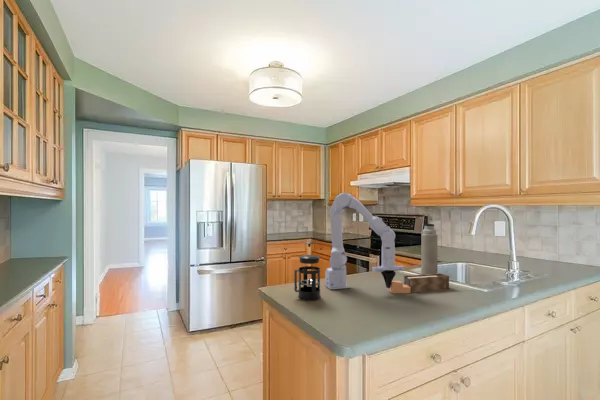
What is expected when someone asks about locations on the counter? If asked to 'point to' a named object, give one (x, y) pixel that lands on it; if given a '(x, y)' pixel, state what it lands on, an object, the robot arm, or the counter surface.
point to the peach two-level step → (399, 287)
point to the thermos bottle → (429, 250)
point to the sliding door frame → (428, 282)
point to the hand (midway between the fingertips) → (388, 287)
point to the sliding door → (413, 277)
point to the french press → (309, 287)
